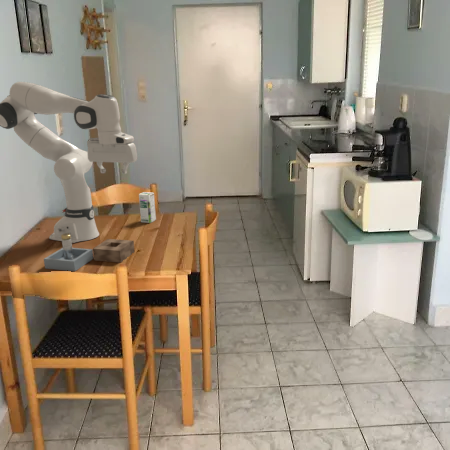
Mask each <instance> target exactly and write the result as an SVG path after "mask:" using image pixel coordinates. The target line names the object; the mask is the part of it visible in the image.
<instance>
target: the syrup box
mask: <svg viewBox="0 0 450 450" xmlns="http://www.w3.org/2000/svg"><path fill="white" fill-rule="evenodd" d="M138 201H139V210H140V211H139V212H140V223H146V224H147V223H149V224H151V223H153V222H155V221H156V220H157V215H156V205H155V204H156V203H155V193H154V192H148V191H143V192H141V193H138Z"/></svg>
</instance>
